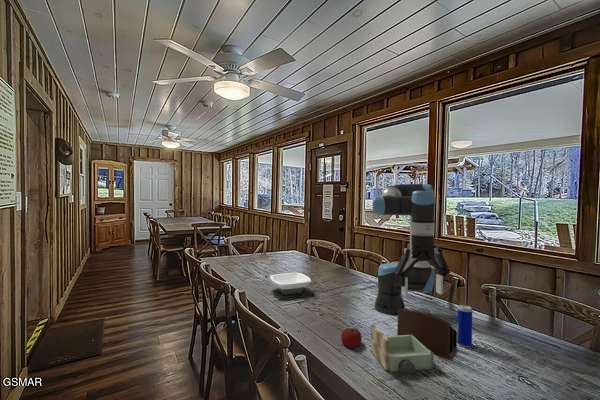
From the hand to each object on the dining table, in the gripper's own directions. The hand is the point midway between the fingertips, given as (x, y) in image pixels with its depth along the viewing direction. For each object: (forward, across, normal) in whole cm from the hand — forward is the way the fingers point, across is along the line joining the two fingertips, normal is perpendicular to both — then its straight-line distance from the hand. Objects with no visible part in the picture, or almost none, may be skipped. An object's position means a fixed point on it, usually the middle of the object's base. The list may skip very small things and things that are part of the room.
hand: (422, 294), depth 106 cm
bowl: (+24, -34, +83) cm, 93 cm away
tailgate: (+23, -15, +2) cm, 28 cm away
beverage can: (+24, +24, +8) cm, 35 cm away
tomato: (+24, -21, +15) cm, 35 cm away
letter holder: (+24, +9, +11) cm, 28 cm away
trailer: (+24, -7, +1) cm, 25 cm away
